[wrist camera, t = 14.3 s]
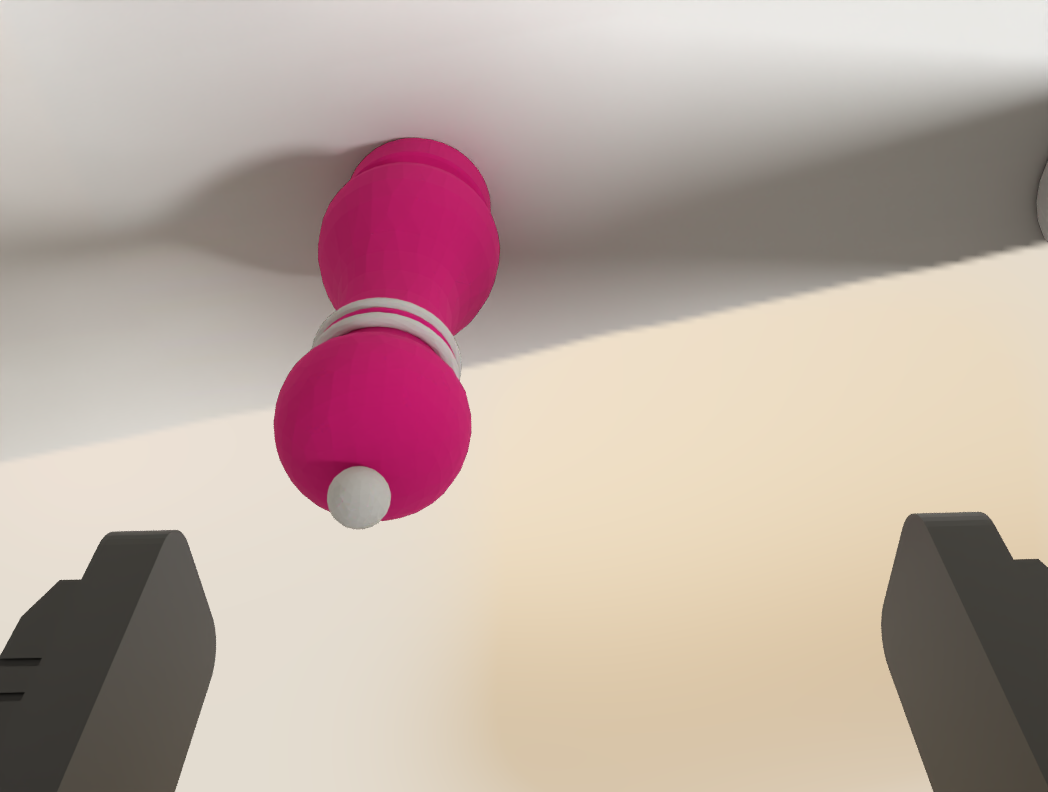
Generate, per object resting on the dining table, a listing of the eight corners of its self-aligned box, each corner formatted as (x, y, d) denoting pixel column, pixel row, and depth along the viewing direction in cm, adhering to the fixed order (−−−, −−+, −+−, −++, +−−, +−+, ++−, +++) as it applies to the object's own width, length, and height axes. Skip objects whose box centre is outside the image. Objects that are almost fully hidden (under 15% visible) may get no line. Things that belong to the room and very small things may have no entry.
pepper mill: (500, 279, 45) (485, 612, 29) (342, 275, 45) (239, 606, 29) (503, 127, 41) (488, 417, 25) (329, 121, 41) (201, 409, 25)
